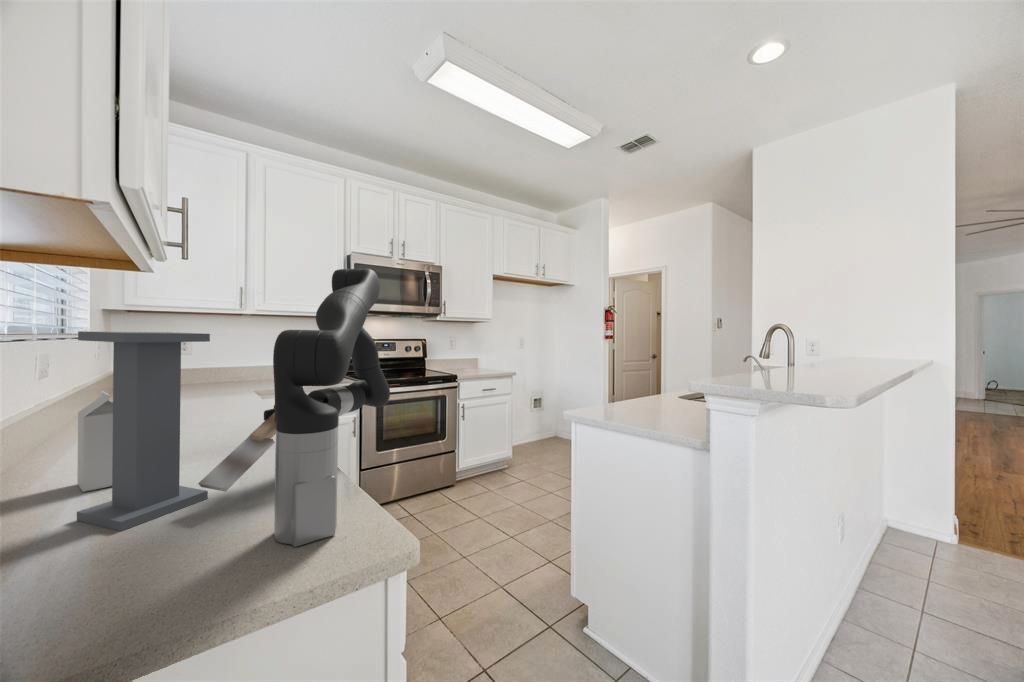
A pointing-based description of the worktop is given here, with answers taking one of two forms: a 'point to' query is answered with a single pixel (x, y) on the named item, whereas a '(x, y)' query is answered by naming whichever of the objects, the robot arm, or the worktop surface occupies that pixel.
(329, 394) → the robot arm
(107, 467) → the milk carton
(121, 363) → the stand
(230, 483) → the trowel
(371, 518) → the worktop surface
